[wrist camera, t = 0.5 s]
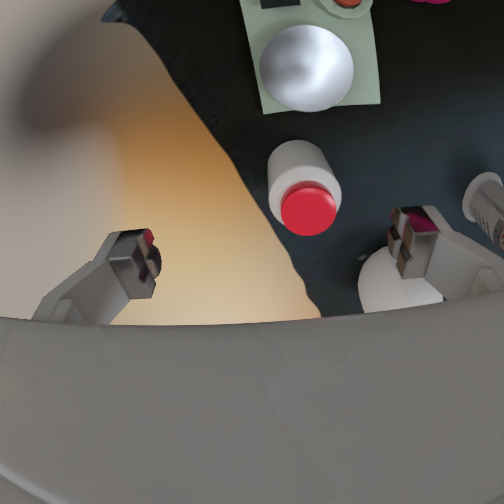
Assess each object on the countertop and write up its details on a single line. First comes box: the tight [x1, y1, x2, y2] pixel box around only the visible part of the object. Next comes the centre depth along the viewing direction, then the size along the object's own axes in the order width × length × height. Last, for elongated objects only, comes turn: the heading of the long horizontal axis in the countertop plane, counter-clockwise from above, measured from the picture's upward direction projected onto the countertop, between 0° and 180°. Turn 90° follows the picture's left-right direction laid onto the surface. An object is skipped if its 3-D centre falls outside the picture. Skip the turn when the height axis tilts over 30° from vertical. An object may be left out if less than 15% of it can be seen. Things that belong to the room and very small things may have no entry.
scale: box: [240, 0, 380, 114], centre depth 25 cm, size 16×14×3 cm
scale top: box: [259, 0, 354, 112], centre depth 25 cm, size 15×10×1 cm
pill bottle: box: [267, 140, 342, 236], centre depth 33 cm, size 8×8×11 cm
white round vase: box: [358, 246, 443, 313], centre depth 41 cm, size 13×13×14 cm
